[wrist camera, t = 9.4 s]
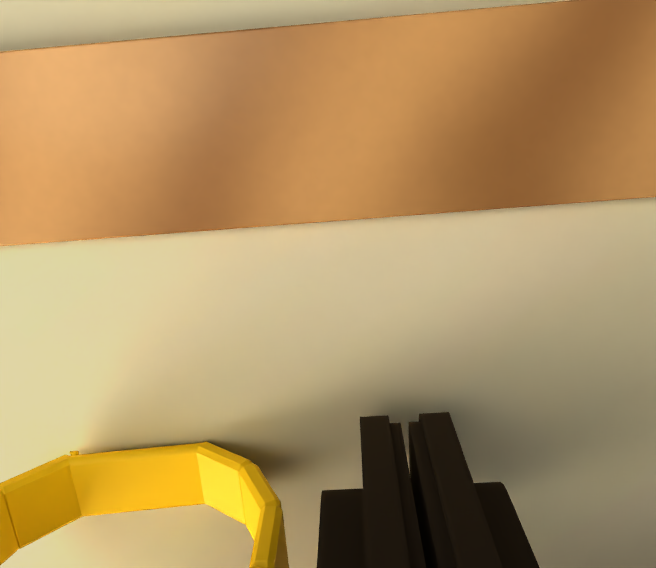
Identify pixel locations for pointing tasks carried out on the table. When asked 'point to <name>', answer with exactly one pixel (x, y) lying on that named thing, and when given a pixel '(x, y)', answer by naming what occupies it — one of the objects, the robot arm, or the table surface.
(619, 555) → the table surface
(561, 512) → the table surface
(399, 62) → the ruler
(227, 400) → the table surface
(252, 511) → the watch
